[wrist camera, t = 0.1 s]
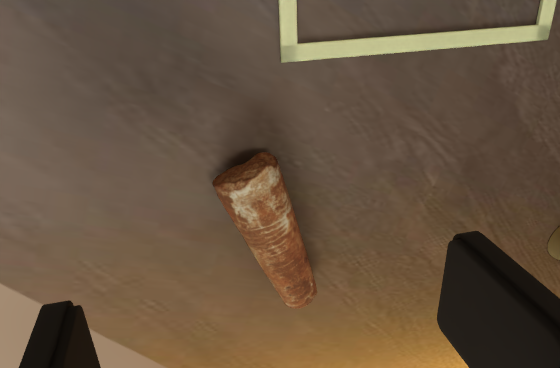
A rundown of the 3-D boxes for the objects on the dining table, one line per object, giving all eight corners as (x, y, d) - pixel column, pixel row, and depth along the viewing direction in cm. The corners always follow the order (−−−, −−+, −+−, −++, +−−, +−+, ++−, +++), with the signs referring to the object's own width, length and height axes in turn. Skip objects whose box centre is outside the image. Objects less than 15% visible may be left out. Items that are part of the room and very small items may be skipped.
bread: (267, 139, 43) (280, 161, 38) (318, 281, 52) (334, 314, 47) (206, 163, 42) (211, 188, 38) (268, 302, 52) (279, 337, 47)
